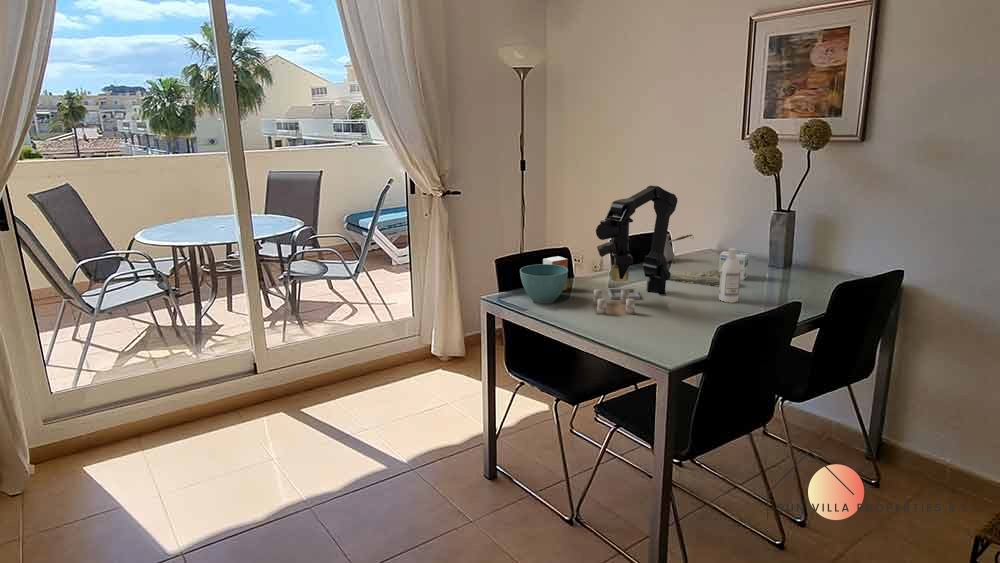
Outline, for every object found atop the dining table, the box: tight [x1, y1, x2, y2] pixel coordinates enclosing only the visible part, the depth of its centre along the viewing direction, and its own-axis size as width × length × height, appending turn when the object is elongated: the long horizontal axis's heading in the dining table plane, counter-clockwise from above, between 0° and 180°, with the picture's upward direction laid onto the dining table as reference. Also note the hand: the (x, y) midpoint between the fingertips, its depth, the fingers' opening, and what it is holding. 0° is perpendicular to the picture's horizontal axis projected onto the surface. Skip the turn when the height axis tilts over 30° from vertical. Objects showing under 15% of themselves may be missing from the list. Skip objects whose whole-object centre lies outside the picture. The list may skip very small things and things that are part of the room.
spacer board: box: [591, 288, 637, 316], centre depth 225 cm, size 14×16×6 cm
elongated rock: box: [668, 269, 721, 286], centre depth 263 cm, size 35×5×10 cm
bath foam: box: [718, 247, 741, 303], centre depth 233 cm, size 7×7×20 cm
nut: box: [610, 264, 630, 283], centre depth 230 cm, size 6×6×5 cm
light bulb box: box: [718, 251, 749, 280], centre depth 266 cm, size 11×7×11 cm, turn 58°
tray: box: [606, 287, 641, 301], centre depth 241 cm, size 11×11×2 cm
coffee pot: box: [664, 233, 694, 263], centre depth 293 cm, size 21×12×15 cm, turn 42°
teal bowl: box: [519, 263, 569, 304], centre depth 237 cm, size 18×18×12 cm
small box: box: [542, 255, 569, 291], centre depth 251 cm, size 8×6×13 cm
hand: (619, 276), depth 231 cm, fingers closed on nut, 5 cm apart
